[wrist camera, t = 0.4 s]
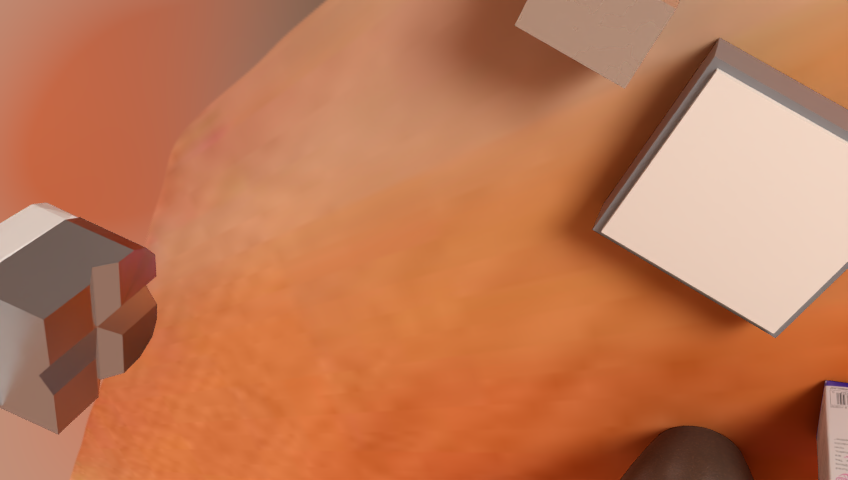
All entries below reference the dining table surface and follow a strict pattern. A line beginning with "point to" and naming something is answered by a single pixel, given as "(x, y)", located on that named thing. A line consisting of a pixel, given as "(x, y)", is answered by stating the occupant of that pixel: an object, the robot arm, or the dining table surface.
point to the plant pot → (690, 457)
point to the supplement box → (833, 432)
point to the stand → (741, 191)
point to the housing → (599, 31)
